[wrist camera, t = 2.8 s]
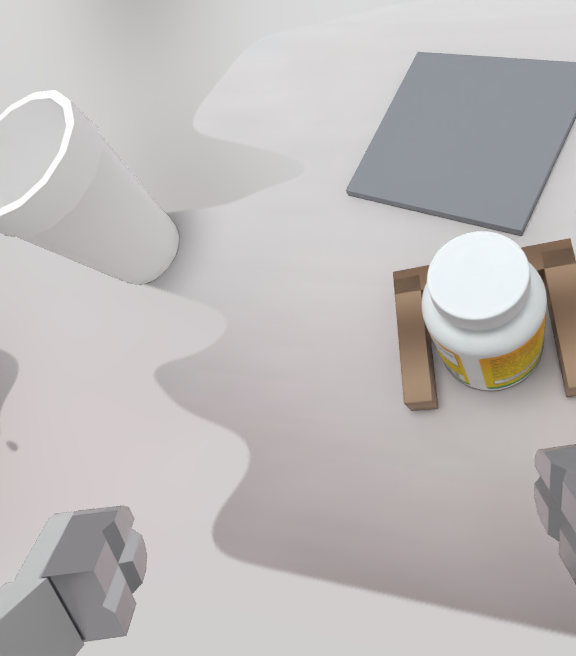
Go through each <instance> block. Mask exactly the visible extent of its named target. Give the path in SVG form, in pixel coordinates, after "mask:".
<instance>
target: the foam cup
mask: <svg viewBox="0 0 576 656" xmlns="http://www.w3.org/2000/svg"><path fill="white" fill-rule="evenodd" d="M0 233H2V234H4V235H5V236H11V237H18V238H20V239H23V240H25V241H28V242H30V243H32V244H35V245H37V246H40V247H42V248H44V249H47V250H49V251H52V252H54V253H57V254H59V255H62V256H64V257H66V258H69V259H71V260H73V261H76V262H78V263H81V264H83V265H85V266H88V267H90V268H93V269H95V270H98V271H100V272H102V273H105V274H107V275H109V276H112V277H114V278H117V279H119V280H122V281H126V282H127V283H131V284H138V285H142V284H145V283H147V282H150V281H153V280H155V279H156V278H158V277H159V276H160V275H161V274H162V273H163V272H164V271H166V270H167V269H168V268H169V266H170V264H171V262H172V261H173V259H174V257H175V256H176V254H177V249H178V244H179V234H178V231H177V228H176V225H175V224H174V223H173V222H172V220H171V219H170V217H169V216H168V215H167V214H166V213H165V211H164V210H163V209H162V208H161V207H160V206H159V204H158V203H157V202H156V201H155V199H154V198H153V197H152V196H151V195H150V193H149V192H148V191H147V190H146V189H145V187H144V186H143V185H142V184H141V183H140V181H139V180H138V179H137V178H136V177H135V175H134V174H133V173H132V172H131V171H130V169H129V168H128V167H127V166H126V165H125V163H124V162H123V161H122V160H121V158H120V157H119V156H118V155H117V154H116V153H115V151H114V150H113V149H112V148H111V146H110V145H109V144H108V143H107V142H106V140H105V139H104V138H103V137H102V136H101V134H100V133H99V130H98V126H97V125H96V124H95V123H93V121H92V120H90V119H89V118H88V117H87V116H86V115H85V114H84V113H83V112H82V111H81V110H80V109H79V108H78V107H77V106H76V105H74V104H73V103H72V102H71V101H70V100H69V99H67V98H66V97H65V96H63V95H62V94H60V93H59V92H57V91H56V90H52V91H42V92H34V93H32V94H30V95H28V96H27V97H25V98H23V99H21V100H19V101H18V102H16V103H14V104H12V105H10V106H9V107H8V108H7V109H6V110H5V111H4V112H3V113H2V114H1V115H0Z"/></svg>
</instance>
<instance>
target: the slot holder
mask: <svg viewBox="0 0 576 656" xmlns="http://www.w3.org/2000/svg"><path fill="white" fill-rule="evenodd" d="M521 249H522V250H523V251H524V253H525V255H526V257H527V259H528V262H529V263H530V264H531V265H532V266H533V267H534V268H535V269H536V270H537V272H538V273H539V275H540V277H541V279H542V281H543V283H544V286H545V290H546V298H547V303H548V308H549V313H550V318H551V323H552V328H553V332H554V337H555V342H556V347H557V352H558V357H559V362H560V367H561V372H562V377H563V382H564V387H565V392H566V397H571V396H576V261H575V256H574V252H573V248H572V243H571V239H570V238H569V239H564V240H559V241H553V242H548V243H543V244H538V245H532V246H527V247H522V248H521ZM428 269H429V265H427V266H422V267H417V268H412V269H406V270H401V271H396V272H393V278H394V290H395V302H396V314H397V326H398V338H399V350H400V361H401V373H402V385H403V397H404V404H405V405H406V406H407V407H408V408H409V409H410V410H411V411H412V410H424V409H435V408H438V403H437V394H436V385H435V376H434V366H433V357H432V348H431V339H430V333H429V331H428V329H427V327H426V324H425V321H424V318H423V314H422V296H423V291H424V288H425V285H426V283H427V274H428Z"/></svg>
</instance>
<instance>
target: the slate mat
mask: <svg viewBox="0 0 576 656" xmlns="http://www.w3.org/2000/svg"><path fill="white" fill-rule="evenodd" d="M575 118H576V62H563V61H548V60H533V59H517V58H502V57H487V56H472V55H457V54H442V53H426V52H418V53H417V54H416V56H415V58H414V60H413V62H412V64H411V66H410V68H409V70H408V72H407V74H406V76H405V78H404V79H403V81H402V83H401V85H400V87H399V89H398V91H397V93H396V95H395V97H394V99H393V101H392V103H391V104H390V106H389V108H388V110H387V112H386V114H385V116H384V118H383V120H382V122H381V124H380V126H379V128H378V129H377V131H376V133H375V135H374V137H373V139H372V141H371V143H370V145H369V147H368V149H367V151H366V153H365V154H364V156H363V158H362V160H361V162H360V164H359V166H358V168H357V170H356V172H355V174H354V176H353V178H352V179H351V181H350V183H349V185H348V187H347V189H346V191H347V193H348V195H350V196H355V197H359V198H363V199H367V200H371V201H376V202H380V203H384V204H388V205H393V206H397V207H401V208H405V209H410V210H414V211H418V212H422V213H427V214H431V215H435V216H439V217H444V218H448V219H452V220H456V221H461V222H465V223H469V224H473V225H478V226H482V227H486V228H490V229H495V230H499V231H503V232H507V233H512V234H516V235H520V236H522V233H523V231H524V229H525V227H526V225H527V223H528V220H529V218H530V216H531V214H532V212H533V209H534V207H535V205H536V203H537V201H538V199H539V196H540V194H541V192H542V190H543V188H544V185H545V183H546V181H547V179H548V177H549V175H550V172H551V170H552V168H553V166H554V164H555V162H556V159H557V157H558V155H559V153H560V151H561V148H562V146H563V144H564V142H565V140H566V138H567V135H568V133H569V131H570V129H571V127H572V124H573V122H574V120H575Z"/></svg>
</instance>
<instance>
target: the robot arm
mask: <svg viewBox="0 0 576 656" xmlns="http://www.w3.org/2000/svg"><path fill="white" fill-rule="evenodd" d="M535 467H536V469H537V471H538V472H539V474H540V476H541V477H540V478H539V479H538V480H537V481H536V483H535V484H534V498H535V502H536V507H537V512H538V514H539V517H540V520H541V522H542V524H543V526H544V528H545V530H546V532H547V534H548V535H550V536H551V537H553V538H555V539H556V540H558V541H559V555H560V557H561V559H562V561H563V563H564V564H565V566H566V568H567V570H568V571H569V573H570V575H571V577H572V579H573V580H574V582H575V584H576V444H574V445H567V446H560V447H553V448H546V449H539V450H537V452H536V455H535ZM133 521H134V517H133V515H132V513H131V511H130V509H129V507H126V506H116V507H107V508H98V509H89V510H79V511H76V512H66V513H57V514H54V515H53V516H52V517H50V518H49V520H48V521H47V523H46V525H45V526H44V528H43V530H42V532H41V533H40V535H39V537H38V539H37V541H36V542H35V544H34V546H33V548H32V549H31V551H30V553H29V555H28V557H27V558H26V560H25V562H24V564H23V565H22V567H21V569H20V571H19V573H18V574H17V576H16V578H15V580H14V581H13V582H8V583H5V584H4V585H3V586H2V587H0V656H75V655H76V654H77V653H78V652H79V650H80V649H81V648H82V647H83V646H84V642H87V641H92V640H101V639H107V638H115V637H121V636H126V635H127V632H128V629H129V626H130V622H131V619H132V616H133V612H134V609H135V606H136V602H135V600H134V598H133V595H132V593H133V592H134V591H135V590H136V589H137V588H138V587H139V586H140V585H141V584H142V583H143V579H144V576H145V572H146V561H147V553H146V548H145V543H144V540H143V538H142V535H141V534H139V533H138V532H136V531H135V530H133V529H132V528H131V527H132V525H133Z"/></svg>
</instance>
